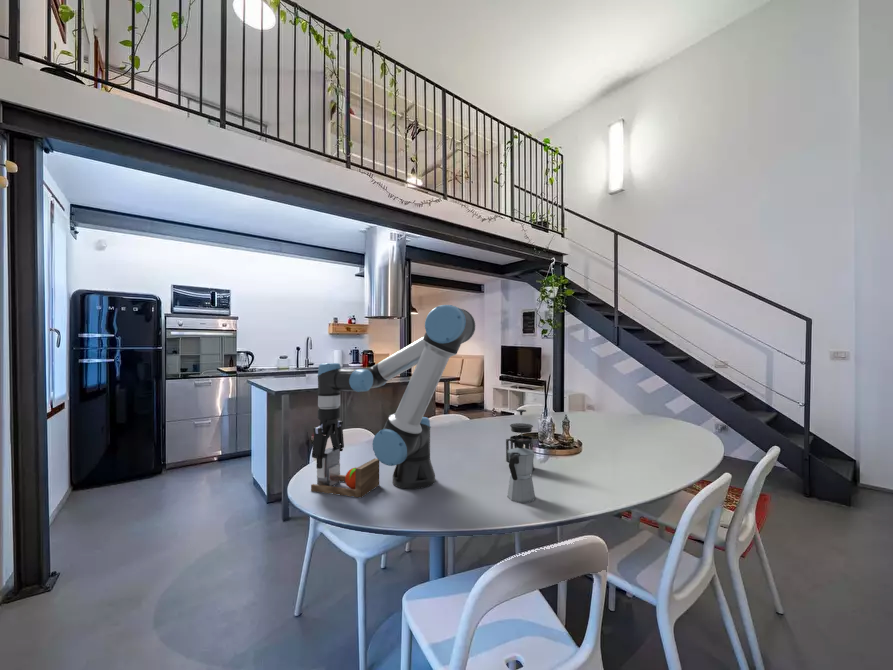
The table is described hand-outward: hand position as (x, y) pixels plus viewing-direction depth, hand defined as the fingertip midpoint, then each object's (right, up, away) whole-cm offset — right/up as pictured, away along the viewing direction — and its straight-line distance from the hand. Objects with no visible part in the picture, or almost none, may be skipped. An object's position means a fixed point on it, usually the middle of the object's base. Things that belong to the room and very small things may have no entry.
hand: (328, 473), depth 133 cm
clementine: (+10, -4, -4) cm, 11 cm away
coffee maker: (+64, -4, -12) cm, 65 cm away
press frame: (+7, -4, -2) cm, 8 cm away
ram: (0, -4, 0) cm, 4 cm away
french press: (+70, -5, +18) cm, 73 cm away
